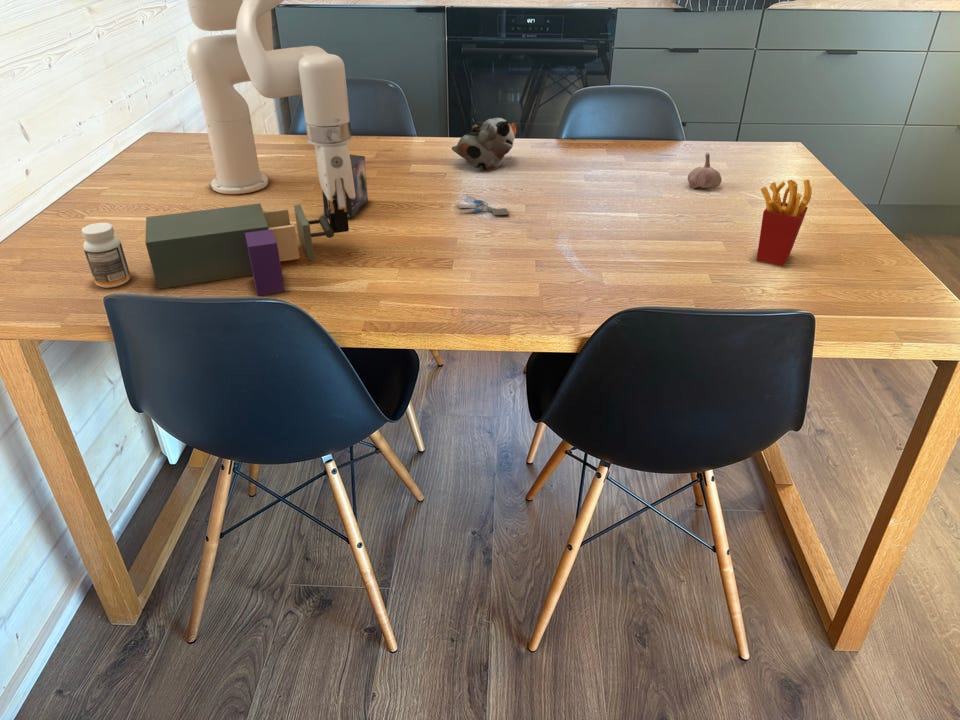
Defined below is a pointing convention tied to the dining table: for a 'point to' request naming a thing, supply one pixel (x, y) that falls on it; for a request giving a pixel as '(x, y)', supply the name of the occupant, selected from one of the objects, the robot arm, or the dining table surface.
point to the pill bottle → (105, 255)
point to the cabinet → (202, 244)
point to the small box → (359, 185)
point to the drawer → (287, 233)
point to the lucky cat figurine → (487, 143)
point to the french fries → (781, 222)
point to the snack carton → (265, 262)
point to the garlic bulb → (704, 176)
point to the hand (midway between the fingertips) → (339, 230)
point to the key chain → (495, 211)
